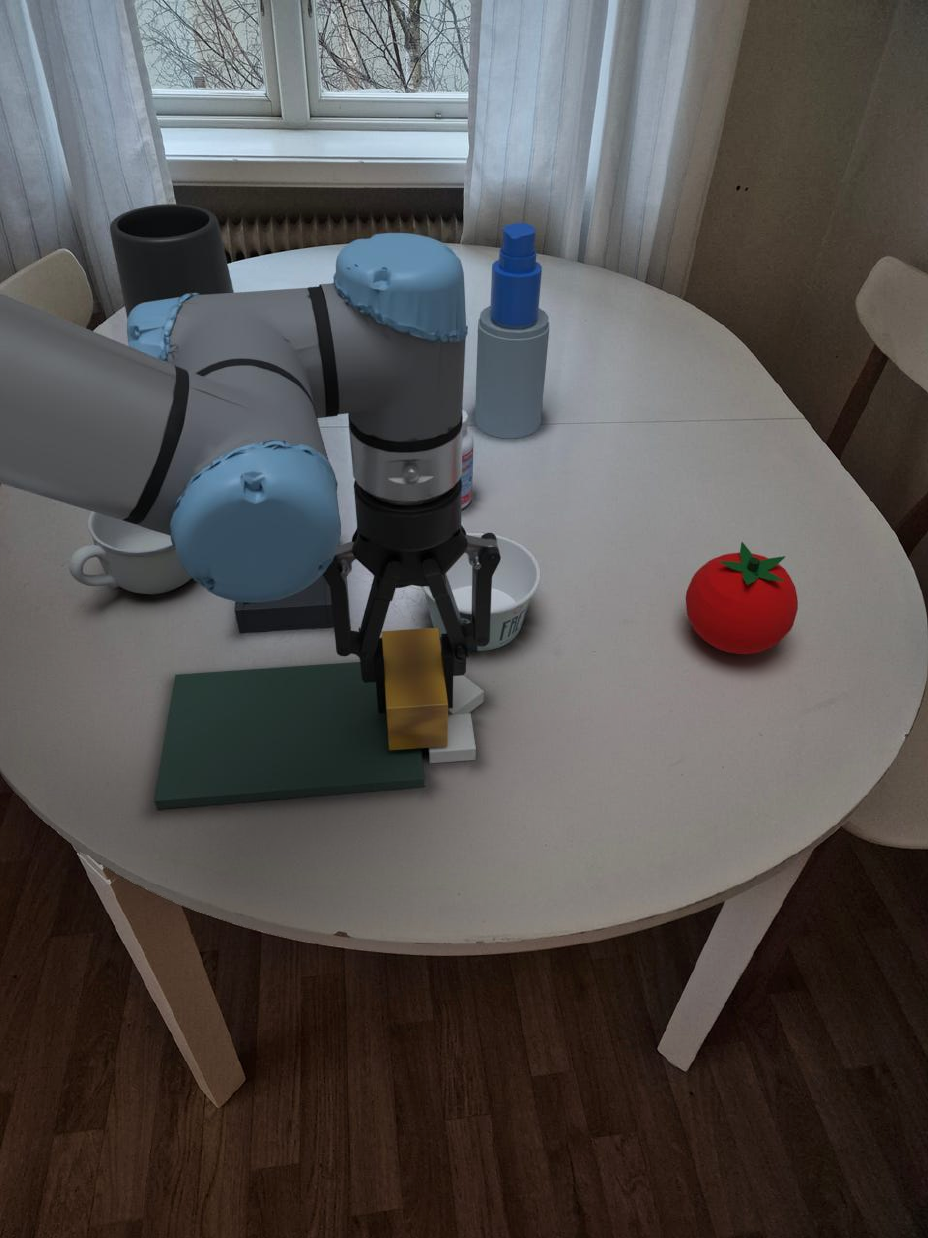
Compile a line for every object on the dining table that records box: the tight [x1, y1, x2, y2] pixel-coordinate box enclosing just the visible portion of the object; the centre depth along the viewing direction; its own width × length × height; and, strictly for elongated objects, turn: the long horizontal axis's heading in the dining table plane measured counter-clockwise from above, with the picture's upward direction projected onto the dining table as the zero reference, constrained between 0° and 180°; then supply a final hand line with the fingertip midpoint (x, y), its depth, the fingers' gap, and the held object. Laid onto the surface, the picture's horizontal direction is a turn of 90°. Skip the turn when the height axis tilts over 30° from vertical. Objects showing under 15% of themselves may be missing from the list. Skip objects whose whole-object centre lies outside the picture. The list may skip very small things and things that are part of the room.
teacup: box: [68, 511, 193, 595], centre depth 88 cm, size 14×11×8 cm
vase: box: [109, 203, 235, 320], centre depth 97 cm, size 14×14×29 cm
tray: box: [233, 575, 334, 634], centre depth 90 cm, size 10×14×3 cm
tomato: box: [685, 541, 799, 655], centre depth 83 cm, size 10×10×10 cm
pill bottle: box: [460, 409, 474, 510], centre depth 99 cm, size 6×6×11 cm
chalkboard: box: [153, 661, 425, 810], centre depth 76 cm, size 22×14×1 cm, turn 97°
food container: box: [420, 532, 542, 652], centre depth 85 cm, size 12×12×6 cm
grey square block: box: [427, 712, 477, 764], centre depth 76 cm, size 4×4×2 cm
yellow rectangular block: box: [381, 627, 448, 750], centre depth 75 cm, size 5×9×6 cm, turn 6°
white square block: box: [448, 674, 485, 715], centre depth 79 cm, size 4×4×2 cm
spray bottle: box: [474, 222, 550, 440], centre depth 107 cm, size 9×9×25 cm
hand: (414, 698), depth 75 cm, fingers closed on yellow rectangular block, 5 cm apart
